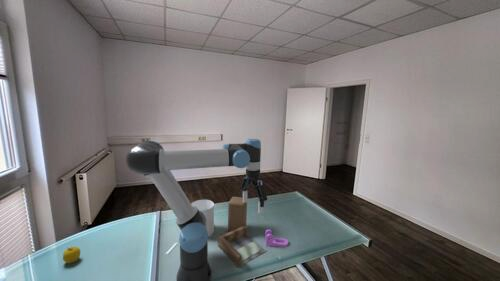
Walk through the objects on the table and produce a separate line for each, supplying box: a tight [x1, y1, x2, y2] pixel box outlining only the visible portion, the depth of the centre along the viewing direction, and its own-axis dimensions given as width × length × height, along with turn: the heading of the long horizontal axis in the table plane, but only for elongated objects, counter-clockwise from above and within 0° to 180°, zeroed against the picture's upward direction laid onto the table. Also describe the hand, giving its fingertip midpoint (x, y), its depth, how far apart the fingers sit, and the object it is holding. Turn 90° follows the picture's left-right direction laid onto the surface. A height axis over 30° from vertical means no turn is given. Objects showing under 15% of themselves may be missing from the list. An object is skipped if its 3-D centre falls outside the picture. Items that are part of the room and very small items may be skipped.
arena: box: [217, 224, 267, 269], centre depth 106 cm, size 19×19×6 cm
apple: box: [62, 246, 81, 264], centre depth 94 cm, size 6×6×8 cm
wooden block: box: [227, 196, 248, 233], centre depth 123 cm, size 10×10×20 cm
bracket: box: [264, 229, 289, 248], centre depth 112 cm, size 13×6×7 cm, turn 90°
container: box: [190, 199, 215, 238], centre depth 120 cm, size 14×14×18 cm
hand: (252, 206), depth 104 cm, fingers open, 13 cm apart
